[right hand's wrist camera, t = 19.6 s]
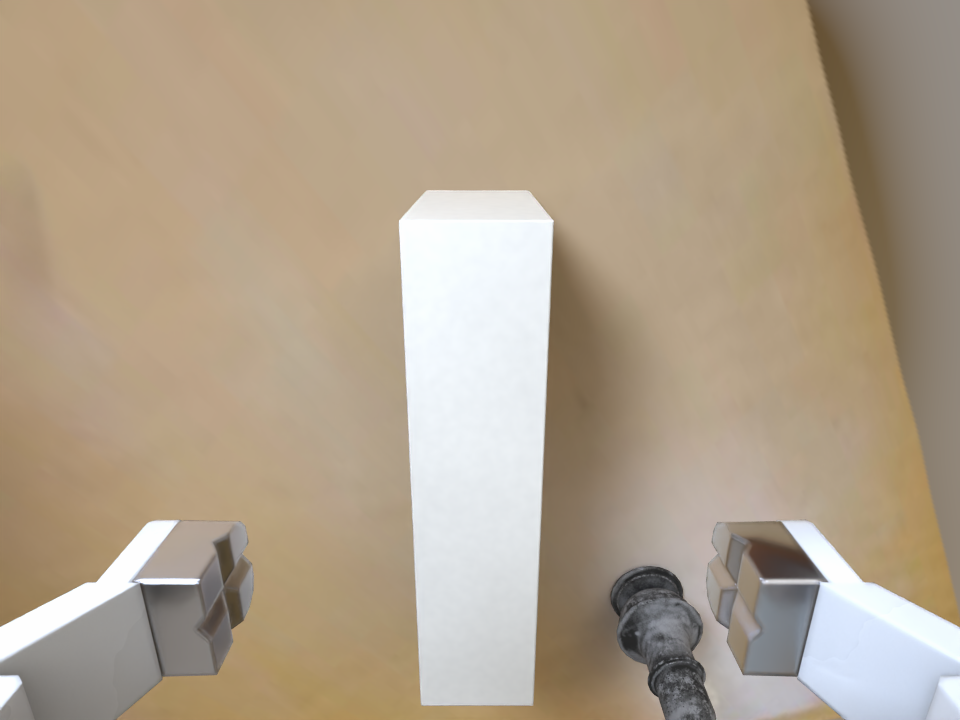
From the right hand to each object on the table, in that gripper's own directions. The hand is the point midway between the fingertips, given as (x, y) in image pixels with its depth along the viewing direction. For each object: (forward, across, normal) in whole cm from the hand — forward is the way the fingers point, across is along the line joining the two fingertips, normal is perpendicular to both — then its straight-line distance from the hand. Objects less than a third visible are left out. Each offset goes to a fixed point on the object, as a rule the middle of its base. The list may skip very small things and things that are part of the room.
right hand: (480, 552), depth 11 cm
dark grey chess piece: (+28, +12, -25) cm, 39 cm away
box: (+28, 0, -9) cm, 29 cm away
